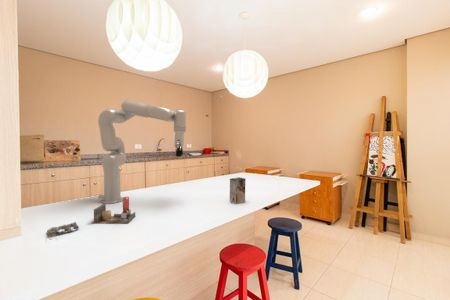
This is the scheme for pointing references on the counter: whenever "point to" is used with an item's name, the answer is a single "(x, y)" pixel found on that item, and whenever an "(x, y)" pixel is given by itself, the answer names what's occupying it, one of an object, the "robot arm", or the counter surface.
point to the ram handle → (125, 208)
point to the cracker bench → (114, 219)
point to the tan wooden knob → (106, 215)
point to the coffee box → (237, 190)
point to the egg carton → (66, 227)
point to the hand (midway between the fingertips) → (179, 155)
